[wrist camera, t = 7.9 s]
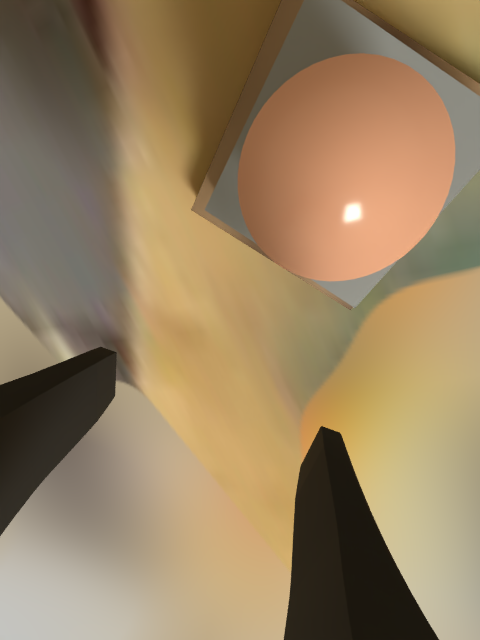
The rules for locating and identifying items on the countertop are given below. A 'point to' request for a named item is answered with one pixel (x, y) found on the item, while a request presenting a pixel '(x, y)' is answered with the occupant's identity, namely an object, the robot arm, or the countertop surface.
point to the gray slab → (335, 40)
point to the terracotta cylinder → (346, 167)
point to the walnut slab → (253, 87)
